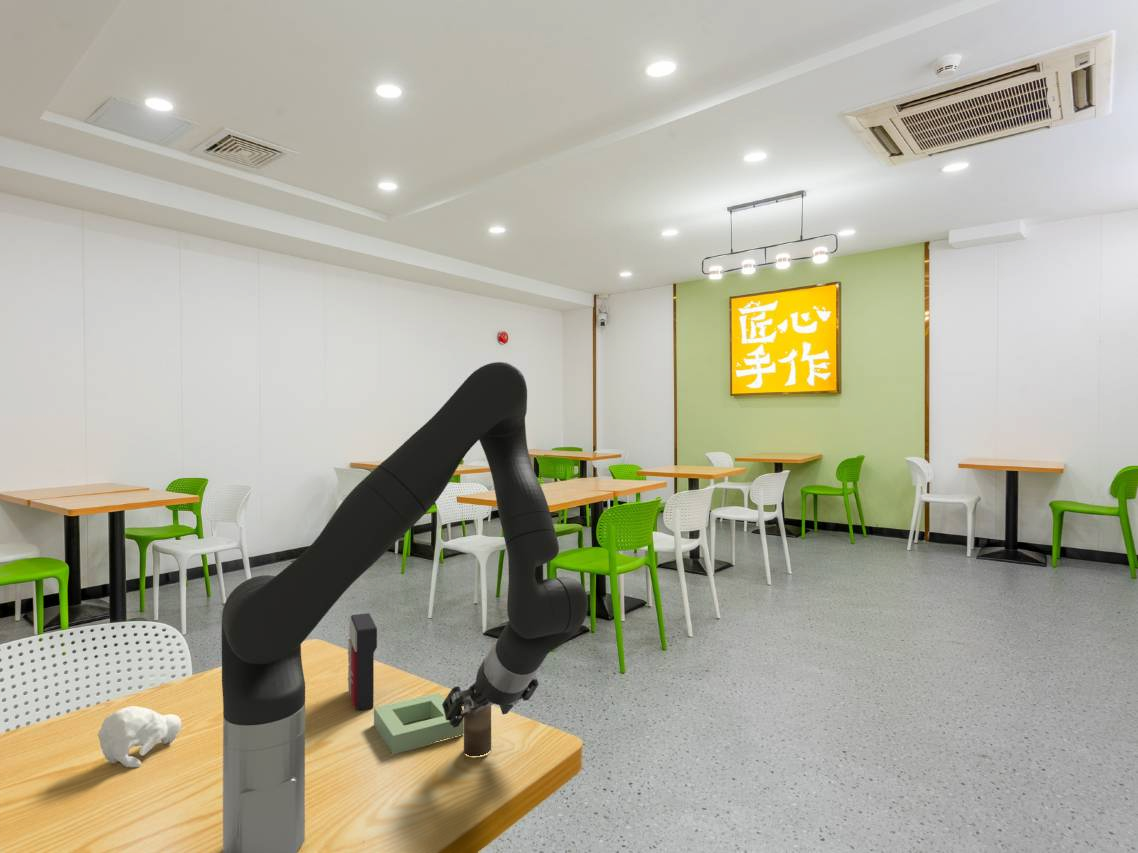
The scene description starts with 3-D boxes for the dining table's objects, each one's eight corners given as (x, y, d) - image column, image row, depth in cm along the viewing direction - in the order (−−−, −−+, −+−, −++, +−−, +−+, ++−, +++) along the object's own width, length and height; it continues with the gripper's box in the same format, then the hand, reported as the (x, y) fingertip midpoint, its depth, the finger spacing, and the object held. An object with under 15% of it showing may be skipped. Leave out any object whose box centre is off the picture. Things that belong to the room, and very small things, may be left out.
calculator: (346, 689, 126) (347, 615, 126) (369, 686, 128) (369, 612, 128) (352, 712, 116) (353, 630, 116) (376, 707, 118) (377, 627, 118)
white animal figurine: (95, 711, 97) (168, 688, 108) (89, 769, 96) (163, 740, 107) (123, 717, 95) (195, 694, 106) (117, 777, 94) (190, 746, 105)
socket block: (463, 735, 107) (463, 717, 107) (393, 754, 101) (393, 735, 101) (439, 708, 117) (439, 692, 117) (374, 724, 111) (374, 707, 111)
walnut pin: (495, 753, 101) (495, 697, 101) (470, 760, 99) (470, 703, 99) (484, 741, 105) (484, 687, 105) (459, 748, 103) (459, 693, 103)
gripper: (543, 635, 98) (510, 683, 108) (456, 652, 91) (430, 702, 100) (560, 681, 93) (525, 726, 103) (470, 702, 86) (442, 750, 96)
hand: (478, 714), depth 102 cm, fingers open, 8 cm apart
